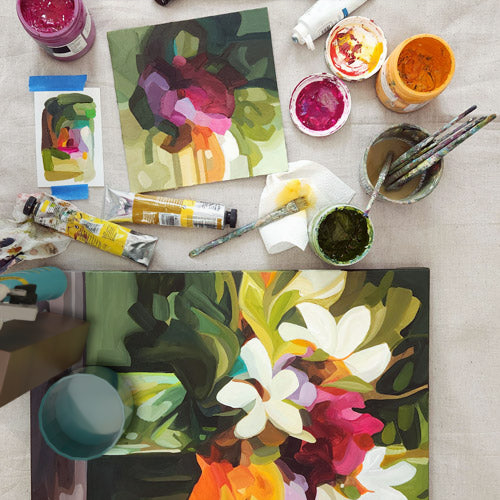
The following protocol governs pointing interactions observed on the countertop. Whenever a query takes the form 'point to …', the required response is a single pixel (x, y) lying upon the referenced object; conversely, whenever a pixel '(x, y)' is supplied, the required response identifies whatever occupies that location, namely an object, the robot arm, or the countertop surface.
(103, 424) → the bowl
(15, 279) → the tube
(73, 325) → the pedestal
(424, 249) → the countertop surface
